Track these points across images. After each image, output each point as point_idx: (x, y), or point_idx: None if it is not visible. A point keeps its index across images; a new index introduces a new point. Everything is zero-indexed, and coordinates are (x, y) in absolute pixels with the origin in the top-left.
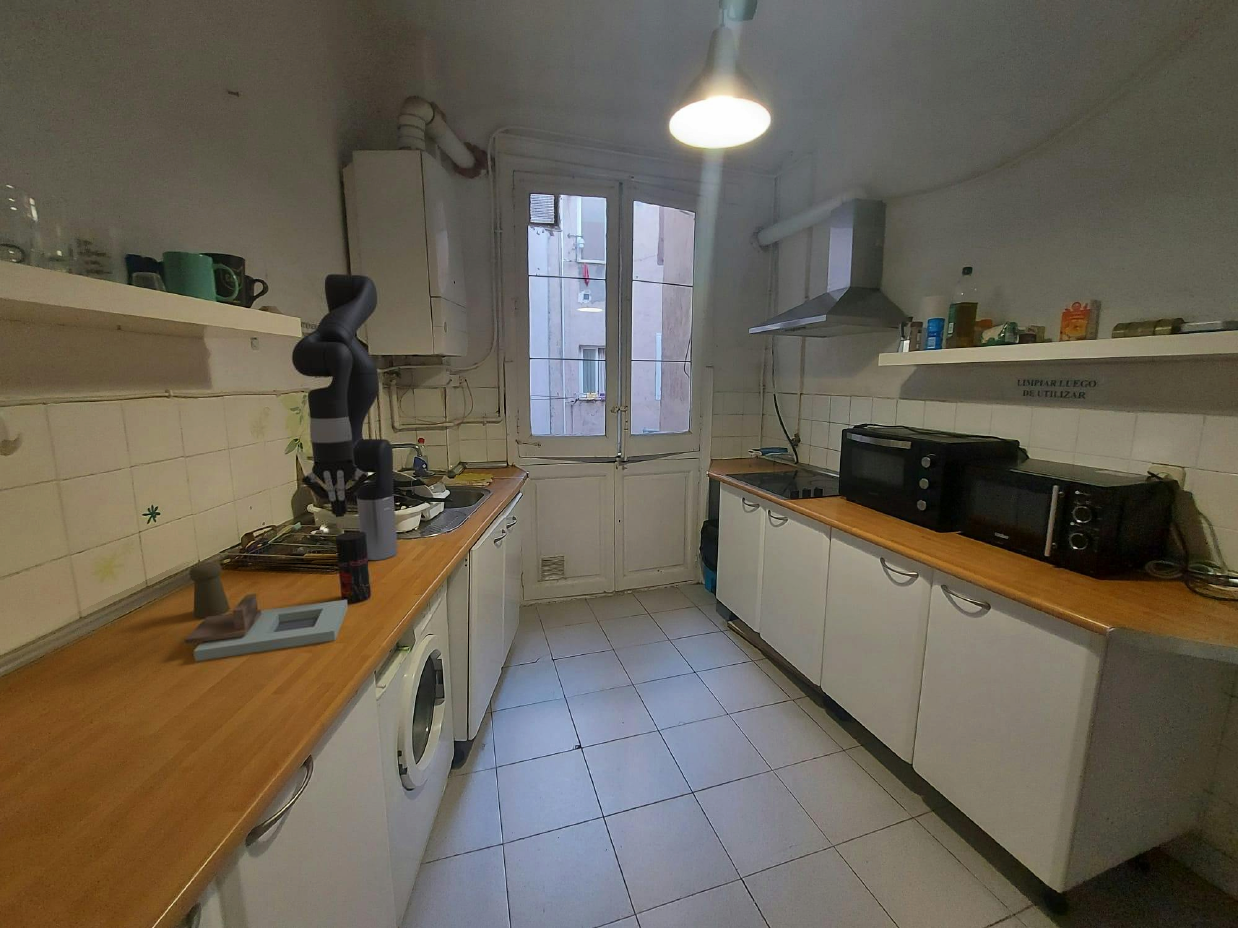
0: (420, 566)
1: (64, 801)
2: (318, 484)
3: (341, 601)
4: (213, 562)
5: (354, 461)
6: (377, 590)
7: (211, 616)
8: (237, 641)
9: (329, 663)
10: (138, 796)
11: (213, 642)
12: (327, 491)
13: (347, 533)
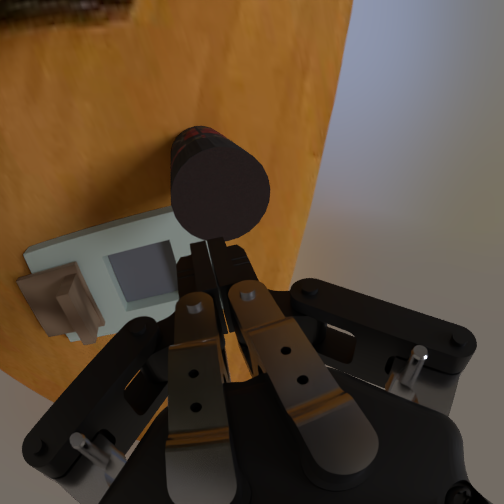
0: (299, 8)
1: (142, 432)
2: (113, 410)
3: None
4: None
5: (462, 477)
6: (232, 121)
7: (21, 281)
8: (103, 327)
9: (235, 340)
10: None
11: None
12: (152, 338)
13: (198, 168)
